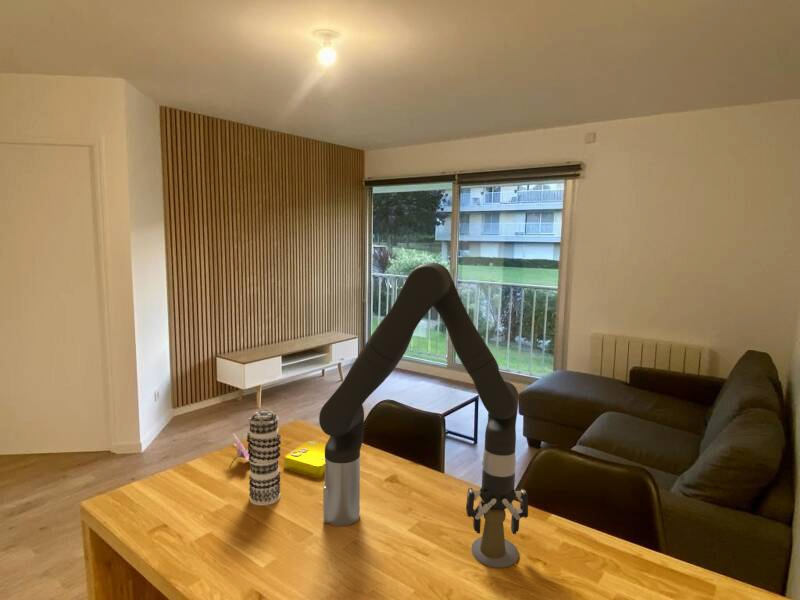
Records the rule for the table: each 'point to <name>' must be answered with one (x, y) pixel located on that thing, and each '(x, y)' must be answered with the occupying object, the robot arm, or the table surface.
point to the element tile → (307, 459)
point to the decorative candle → (264, 458)
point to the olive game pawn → (493, 534)
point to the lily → (241, 450)
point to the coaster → (502, 562)
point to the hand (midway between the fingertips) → (495, 531)
